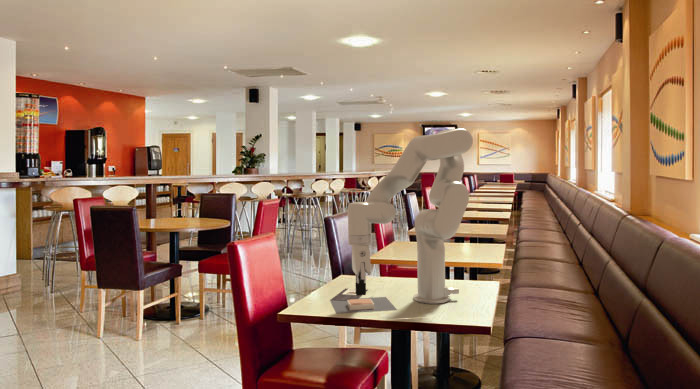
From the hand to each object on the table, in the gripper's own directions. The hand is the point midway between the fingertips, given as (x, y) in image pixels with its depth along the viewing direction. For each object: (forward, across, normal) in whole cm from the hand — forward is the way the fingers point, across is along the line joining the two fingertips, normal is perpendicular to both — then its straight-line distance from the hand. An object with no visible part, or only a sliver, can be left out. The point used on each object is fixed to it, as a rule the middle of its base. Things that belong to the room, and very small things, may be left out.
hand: (360, 294), depth 186 cm
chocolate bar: (+5, +18, +1) cm, 19 cm away
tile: (+3, +4, 0) cm, 5 cm away
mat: (+5, +3, -1) cm, 6 cm away
